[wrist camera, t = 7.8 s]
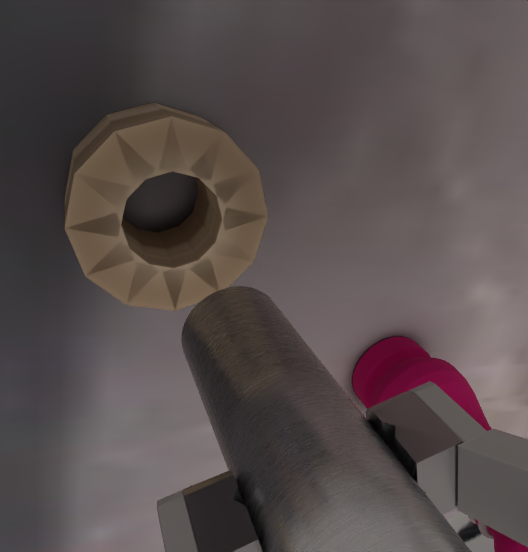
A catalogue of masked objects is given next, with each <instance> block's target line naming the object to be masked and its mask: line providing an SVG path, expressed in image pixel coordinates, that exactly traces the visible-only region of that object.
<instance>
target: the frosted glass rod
mask: <svg viewBox="0 0 528 552" xmlns="http://www.w3.org/2000/svg"><path fill="white" fill-rule="evenodd" d="M181 340H182V348H183V352H184V354H185V357H186V359H187V362H188V365H189V367H190V370H191V373H192V375H193V378H194V381H195V383H196V386H197V388H198V391H199V394H200V396H201V399H202V402H203V404H204V407H205V409H206V412H207V415H208V417H209V420H210V423H211V425H212V428H213V431H214V433H215V436H216V438H217V441H218V444H219V446H220V449H221V452H222V454H223V457H224V460H225V462H226V465H227V467H228V470H229V471H230V470H232V472H233V475H234V477H235V480H236V482H237V485H238V487H239V490H240V493H241V496H242V499H243V502H244V505H245V506H246V508H247V511H248V513H249V516H250V519H251V521H252V524H253V527H254V529H255V532H256V535H257V537H258V540H259V543H260V546H261V549H262V551H263V552H471V551H470V549H469V548H468V547H467V546H466V544H465V543H464V542H463V540H462V539H461V538H460V537H459V535H458V534H457V533H456V532H455V530H454V529H453V528H452V527H451V525H450V524H449V523H448V522H447V520H446V519H445V518H444V516H443V515H442V514H441V513H440V511H439V510H438V509H437V508H436V506H435V505H434V504H433V503H432V501H431V500H430V499H429V498H428V496H427V495H426V494H425V492H424V491H423V490H422V489H421V487H420V486H419V485H418V484H417V482H416V481H415V480H414V479H413V477H412V476H411V475H410V474H409V472H408V471H407V470H406V468H405V467H404V466H403V465H402V463H401V462H400V461H399V460H398V458H397V457H396V456H395V455H394V453H393V452H392V451H391V450H390V448H389V447H388V446H387V445H386V443H385V442H384V441H383V439H382V438H381V437H380V436H379V434H378V433H377V432H376V431H375V429H374V428H373V427H372V426H371V424H370V423H369V422H368V421H367V419H366V418H365V417H364V415H363V414H362V413H361V412H360V410H359V409H358V408H357V407H356V405H355V404H354V403H353V402H352V400H351V399H350V398H349V397H348V395H347V394H346V393H345V391H344V390H343V389H342V388H341V386H340V385H339V384H338V383H337V381H336V380H335V379H334V378H333V376H332V375H331V374H330V373H329V371H328V370H327V369H326V367H325V366H324V365H323V364H322V362H321V361H320V360H319V359H318V357H317V356H316V355H315V354H314V352H313V351H312V350H311V349H310V347H309V346H308V345H307V343H306V342H305V341H304V340H303V338H302V337H301V336H300V335H299V333H298V332H297V331H296V330H295V328H294V327H293V326H292V325H291V323H290V322H289V321H288V320H287V318H286V317H285V316H284V314H283V313H282V312H281V311H280V309H279V308H278V307H277V306H276V304H275V303H274V302H273V301H272V300H271V298H270V297H269V296H267V295H266V294H265V293H263V292H261V291H259V290H257V289H254V288H250V287H242V286H239V287H229V288H225V289H222V290H219V291H217V292H214V293H212V294H211V295H209V296H207V297H206V298H204V299H203V300H202V301H201V302H199V303H198V304H197V305H196V306H195V308H194V309H193V310H192V311H191V313H190V314H189V316H188V317H187V319H186V321H185V324H184V327H183V331H182V339H181Z"/></svg>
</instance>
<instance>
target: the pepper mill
mask: <svg viewBox="0 0 528 552" xmlns="http://www.w3.org/2000/svg"><path fill="white" fill-rule="evenodd" d="M429 381H430V382H433V383H435V384H436V385H437V386H438V387H439V388H440V389H442V390H443V391H444V392H445V393H446V394H447V395H448V396H449V397H450V398H451V399H452V400H454V401H455V402H456V403H457V404H458V405H459V406H460V407H461V408H462V409H463V410H464V411H466V412H467V413H468V414H469V415H470V416H471V417H472V418H473V419H474V420H475V421H476V422H478V423H479V424H480V425H481V426H482V427H483V428H484V429H485V430H486V431H489V430H491V427H490V426H489V424H488V422H487V420H486V418H485V416H484V414H483V411H482V409H481V407H480V405H479V402H478V400H477V398H476V395H475V393H474V392H473V390H472V388H471V387H470V385H469V384H468V382H467V380H466V379H465V378H464V377H463V376H462V375H461V374H460V373H459V371H458V370H457V369H456V368H455V367H454V366H452V365H451V364H450V363H448V362H446V361H444V360H441V359H437V358H431V357H430V355H429V354H428V353H427V352H426V351H425V350H424V349H423V348H422V347H420V346H419V345H418V344H417V343H416V342H415V341H413V340H412V339H409V338H407V337H390V338H388V339H385V340H382V341H380V342H378V343H377V344H375V345H374V346H372V347H371V348H370V349H369V350H368V351H367V352H366V353H365V354H364V355H363V356H362V357H361V359H360V360H359V362H358V363H357V365H356V368H355V370H354V373H353V382H352V384H353V389H354V392H355V394H356V395H357V396H358V398H359V399H360V400H361V401H362V403H363V404H364V405H365V406H366V408H367V409H368V408H371V407H373V406H375V405H377V404H379V403H382V402H384V401H386V400H388V399H390V398H392V397H395V396H397V395H399V394H401V393H403V392H406V391H409V390H411V389H413V388H416V387H418V386H420V385H422V384H425V383H427V382H429ZM468 517H469V519H470V520H471V521H472V522H473V523H475V524H477V525H478V527H479V530H480V531H481V533H482V534H483V535H484V536H486V537H487V538H491V539H494V549H495V552H528V547H526V546H524V545H522V544H521V543H519V542H517V541H515V540H513V539H511V538H509V537H507V536H506V535H504V534H502V533H500V532H498V531H496V530H494V529H492V528H491V527H489V526H487V525H485V524H483V523H481V522H479V521H477V520H476V519H474V518H472V517H470V516H468Z"/></svg>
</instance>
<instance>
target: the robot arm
mask: <svg viewBox="0 0 528 552" xmlns="http://www.w3.org/2000/svg"><path fill="white" fill-rule="evenodd" d="M366 419H367V421H368V422H369V423H370V424H371V426H372V427H373V428H374V429H375V431H376V432H377V433H378V434H379V436H380V437H381V438H382V439H383V441H384V442H385V443H386V445H387V446H388V447H389V448H390V450H391V451H392V452H393V453H394V455H395V456H396V457H397V458H398V460H399V461H400V462H401V463H402V465H403V466H404V467H405V468H406V470H407V471H408V472H409V474H410V475H411V476H412V477H413V479H414V480H415V481H416V482H417V484H418V485H419V486H420V487H421V489H422V490H423V491H424V492H425V494H426V495H427V496H428V498H429V499H430V500H431V501H432V503H433V504H434V505H435V506H436V508H437V509H438V510H439V511H440V513H441V514H442V515H443V514H445V513H447V512H449V511H451V510H453V509H455V508H457V507H458V510H459V511H461V512H462V513H464V514H466V515H468V516H470V517H472V518H474V519H476V520H477V521H479V522H481V523H483V524H485V525H487V526H489V527H491V528H492V529H494V530H496V531H498V532H500V533H502V534H504V535H506V536H507V537H509V538H511V539H513V540H515V541H517V542H519V543H521V544H522V545H524V546H526V547H528V439H525V438H521V437H518V436H515V435H512V434H509V433H506V432H502V431H499V430H496V429H491V430H489V431H486V430H485V429H484V428H483V427H482V426H481V425H480V424H479V423H478V422H476V421H475V420H474V419H473V418H472V417H471V416H470V415H469V414H468V413H467V412H466V411H464V410H463V409H462V408H461V407H460V406H459V405H458V404H457V403H456V402H455V401H454V400H452V399H451V398H450V397H449V396H448V395H447V394H446V393H445V392H444V391H443V390H442V389H440V388H439V387H438V386H437V385H436V384H435V383H433V382H430V381H429V382H427V383H425V384H422V385H420V386H418V387H416V388H413V389H411V390H409V391H406V392H403V393H401V394H399V395H397V396H395V397H392V398H390V399H388V400H386V401H384V402H382V403H379V404H377V405H375V406H373V407H371V408H368V409H367V412H366ZM157 512H158V517H159V522H160V527H161V532H162V537H163V542H164V548H165V552H263V551H262V549H261V546H260V543H259V540H258V537H257V535H256V532H255V529H254V527H253V524H252V521H251V519H250V516H249V513H248V511H247V508H246V506H245V505H244V502H243V499H242V496H241V493H240V490H239V487H238V485H237V482H236V480H235V477H234V475H233V472H232V470H230V471H227V472H225V473H222V474H220V475H217V476H215V477H213V478H210V479H208V480H205V481H203V482H200V483H198V484H195V485H193V486H191V487H188V488H186V489H183V490H181V491H179V492H177V493H174V494H172V495H170V496H167V497H165V498H163V499H160V500H158V501H157Z"/></svg>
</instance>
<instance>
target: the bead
mask: <svg viewBox="0 0 528 552" xmlns="http://www.w3.org/2000/svg"><path fill="white" fill-rule="evenodd" d="M169 172H176V173H181V174H185V175H189V176H193V177H195V180H196V183H197V187H198V195H197V199H196V202H195V206H194V210H193V212H192V213H191V214H190V215H189V216H188V217H187V218H186V219H185V220H184V221H183V222H182V223H181V224H180V225H179V226H178V227H175V228H172V229H168V230H165V231H162V232H159V233H156V232H151V231H145V230H140V229H136V228H135V227H134V226H132V225H131V224H130V223H129V222H128V221H126V220H125V219H124V218H123V213H124V209H125V204H126V199H127V198H128V197H129V196H130V195H131V194H132V193H133V192H134V191H135V190H136V189H137V188H138V187H139V186H140V185H141V184H142V183H143V182H144V180H145V179H148V178H152V177H155V176H159V175H162V174H166V173H169ZM267 219H268V212H267V207H266V202H265V197H264V192H263V187H262V182H261V177H260V172H259V169H258V168H257V167H256V166H255V165H254V164H253V162H252V161H251V160H250V159H249V158H248V157H247V156H246V155H245V154H244V153H243V152H242V150H241V149H240V148H239V147H238V146H237V145H236V144H235V143H234V142H233V141H232V139H231V138H230V137H229V136H228V135H227V134H226V133H225V132H224V131H222V130H221V129H219V128H217V127H216V126H214V125H213V124H211V123H209V122H208V121H206V120H204V119H203V118H201V117H200V116H197V115H194V114H190V113H187V112H184V111H180V110H177V109H174V108H170V107H167V106H164V105H160V104H157V103H149V104H146V105H142V106H138V107H134V108H130V109H126V110H122V111H118V112H115V113H111V114H107V115H105V116H104V118H103V119H102V120H101V121H100V122H99V123H98V124H97V125H96V126H95V127H94V128H93V129H92V130H91V131H90V132H89V133H88V135H87V136H86V137H85V138H84V139H83V140H82V141H81V142H80V143H79V144H78V145H77V146H76V147H75V148H74V149H73V153H72V158H71V164H70V170H69V175H68V181H67V186H66V192H65V230H66V233H67V235H68V237H69V240H70V242H71V244H72V247H73V249H74V251H75V254H76V256H77V258H78V261H79V263H80V265H81V268H82V270H83V272H84V275H85V276H86V277H87V278H88V279H90V280H91V281H93V282H94V283H96V284H97V285H98V286H100V287H101V288H103V289H104V290H106V291H107V292H108V293H110V294H111V295H113V296H114V297H115V298H117V299H118V300H120V301H121V302H123V303H124V304H125V305H130V306H138V307H147V308H155V309H164V310H172V311H176V310H179V309H182V308H185V307H187V306H190V305H193V304H196V303H199V302H201V301H202V300H203V299H204V298H206V297H207V296H209V295H211V294H212V293H214V292H217V291H219V290H222V289H225V288H228V287H229V286H230V285H231V284H232V283H233V282H234V281H235V280H236V279H237V278H238V277H239V276H240V275H241V274H242V273H243V272H244V271H245V270H246V269H247V268H248V267H249V266H250V265H251V264H252V263H253V262H254V260H255V256H256V253H257V250H258V247H259V244H260V241H261V238H262V235H263V232H264V229H265V225H266V222H267Z"/></svg>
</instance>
